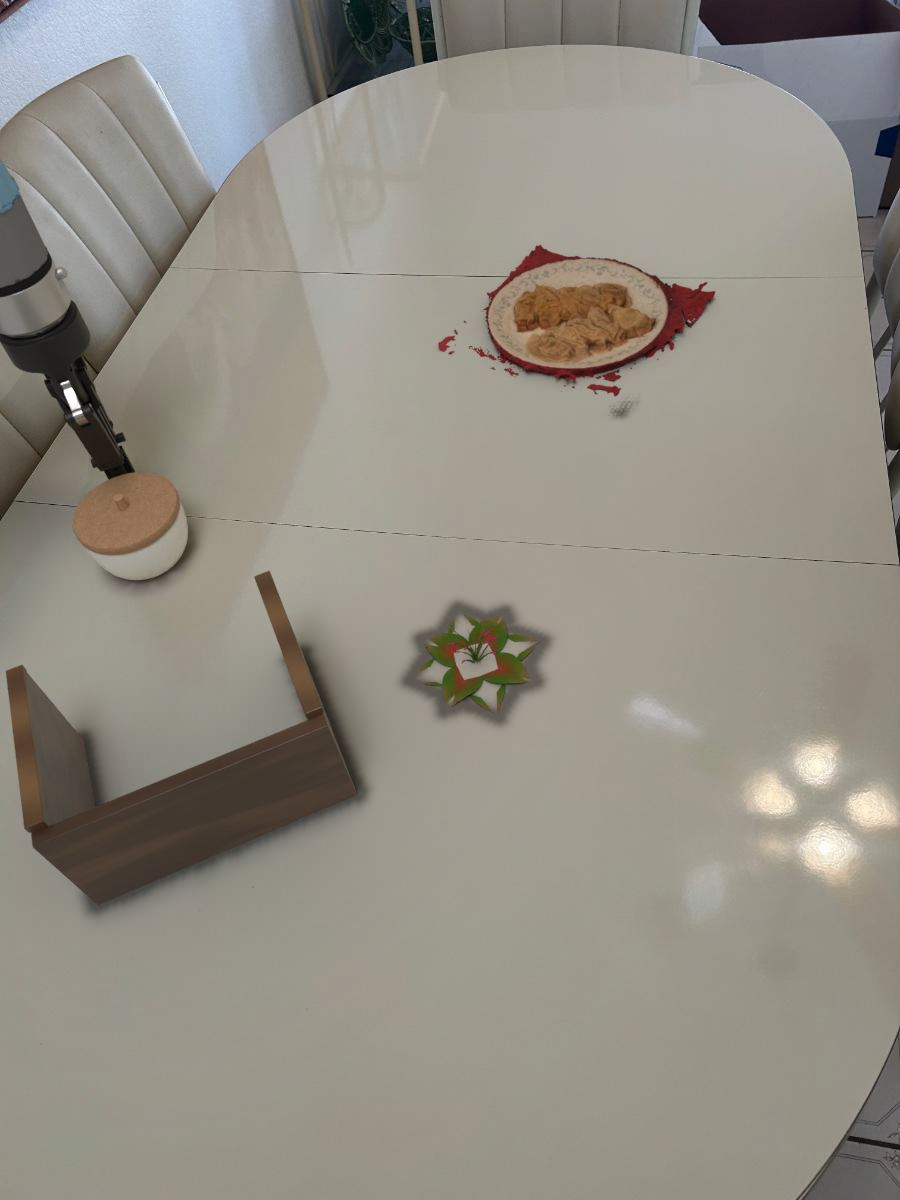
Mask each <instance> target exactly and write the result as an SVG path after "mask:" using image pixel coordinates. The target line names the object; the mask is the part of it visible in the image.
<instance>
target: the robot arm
mask: <svg viewBox="0 0 900 1200" xmlns="http://www.w3.org/2000/svg"><path fill="white" fill-rule="evenodd" d="M19 190H20V187H19V185H18V183H17V180H16V179H15V178H14V177H13V175H12V174H10V172H9V170H8V169H7V167H6V165H5V163H4V162H3V159H2V158H1V157H0V345H1V346H2V348H3V350H4V352H5V353H6V355H7V356H8V359H9V360H10V361H11V363H12V364H13V366H15V368H17V369H18V370H20V371H22V372H26V373H29V374H40V375H41V374H42V375H44V377H45V379H44V380H43V382H44V386H45V387H46V389H47V391H48V392H49V395H50V396H51V397H52V398H54V399H56V401H57V403H58V405H59V407H60V408H61V410H62V412H63V420H64V422H65V423H67V425H68V426H69V427H70V429H72V430H73V432H74V433H75V435H76V436H77V438H78V439H79V441H80V442H81V444H82V445H83V447H84V448H85V450H86V452H87V453H88V454H89V456H90V463H91V466H92V469H95V468H97V470H99V472H101V473H102V472H104V474H105V476H106V478H107V480H109V479H111V478H114V477H117V476H120V475H124V474H127V473H134V472H136V470H135V468H134V465H133V464H132V462H131V460H130V459H129V456H128V455H127V453H126V451H125V449H124V446H123V445H119V444H121V443H124V442H127V440H126V437H125V434H124V432H123V431H121V432H119V433H115V430H114V429H115V428H114V422H113V420H111V419H110V417H109V415H108V413H107V410H106V409H105V406H104V404H103V403H102V400H101V398H100V397H99V394H98V392H97V390H96V386H95V382H94V380H93V378H92V376H91V374H90V373H89V371H88V366H87V363H86V360H85V358H84V356H83V355H84V353H85V352H86V351H87V350H88V348H89V345H90V342H91V332H90V329H89V328H88V325H87V323H86V322H85V320H84V318H83V315H82V313H81V312H80V310H79V308H78V305H77V304H76V303H75V301H73V300H72V297H71V293H70V291H69V289H68V287H67V285H66V283H65V281H64V279H66V278H67V277H68V275H69V273H68V271H67V269H66V268H65V267H64V266H59V267H56V264H55V261H54V260H53V258H52V256H51V254H50V251H49V250H48V247H47V246H46V244H45V243H44V240H43V238H42V236H41V235H40V232H39V230H38V229H37V226H36V224H35V222H34V220H33V218H32V216H31V214H30V212H29V210H28V207H27V205H26V203H25V202H24V199H23V197H22V195H21V192H20V191H19Z"/></svg>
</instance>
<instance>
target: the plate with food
mask: <svg viewBox="0 0 900 1200" xmlns="http://www.w3.org/2000/svg"><path fill="white" fill-rule="evenodd" d="M534 247H535V248H534V250H533V249H531V251H530V252H529V254H528V255H525V257H524V258H523V260H522V262H521V263H520V264H519V265H517V266H516V267H515V270H510V272H509V276H508V277H507V278H506V279H505V280H504V281H503V282H502V283H501V284H500V285H499V286H498V287H497V288H495V289H494V290H493V291H490V292H486V296H488V299H490V301H489V303H488V306H486V307H484V308H483V309H482V310H481V312H482V313H483V311H485V314H486V316H485V317H484V318H485V320H484V321H485V322H486V324H487V330H488V331H487V333H488V335H489V337H490V340H491V342H492V343H493V345H494V346H495V348H496V349H497V350H498V351H499V352H500V354H499V355H498V356H497V358H496V357H495V356H494V355H492V353H491V354H490V350H489V348H486V349H483V348H482V347H479V348H478V347H475V346H473V345H469V346H468V349H469V350H471V349H472V350H473V351H474V352H476V354H477V355H478V356H480V357H481V358H482V357H483V358H488V359H490V360H492V361H496V360H498V362H500V363H501V364H506V363H507V361H508V362H510V363H509V366H510V367H508V368H507V367H504V369H503V370H504V371H505V372H507V373H508V374H510V376H513V377H514V378H516V377H517V376H519V372H515V371H513V369H515V365H517V366H518V367H520V368H519V369H521V368H523V370H522V372H524V371H525V370H526V371H525V373H528V371H531V372H533V373H541V374H544V375H549V376H554V378H555V379H558V378H559V377H564V381H566V382H568V381H570V380H571V379H572V381H573V382H575V381H576V380H577V379H579V378H581V377H582V378H583V379H585V377H590V378H595V379H601V378H603V379H604V380H607V381H610V382H614V381H617V380H620V378H621V377H622V375H620V374H618V373H620V372H621V370H620V368H623V367H624V366H625V365H626V364H628V363H632V362H633V361H636V360H638V359H640V358H641V357H644V356H646V357H645V359H649V358H653V357H654V356H655V354H656V352H657V351H658V350H660V351H661V352H662V353H665V349H666V346H665V345H667V344H668V343H669V350H671V351H673V349H674V347H675V342H673V341H672V340H671V337H672V336H674V335H675V334H676V332H682V331H683V330H684V328H685V324H684V322H685V323H686V324H687V325H688V326H689V327H693V325H694V324H695V322H696V321H697V320H698V319H699V317H700V316H701V315H702V314H703V312H704V310H705V308H706V305H707V303H708V302H711V301H713V299H714V297H715V295H716V291H715V290H713V291H712V290H710V291H705V290H702V289H703V288H704V287H705V286H707V284H708V282H707V281H705V282H703V283H700V284H698V288H695V289H693V288H691V287H686V286H683V285H679V284H677V283H672V284H671V285H670V284H668V282H665V283H664V281H662V280H661V279H660V278H659V277H658V276H657V274H654V275H653V274H649V273H648V272H645V271H643V270H642V269H640V268H639V267H637V266H635V265H632V264H630V263H627V262H625V261H619V260H617V259H615V258H613V259H612V258H609V257H608V258H607V257H604V258H603V257H601V258H600V257H593V256H592V257H590V256H589V257H581V256H579V255H574V256H571V255H570V256H567V255H563V254H560V253H556V252H552V251H549V250H548V249H547V248H544V247H543V245H541V244H539V245H537V244H536V245H535V246H534ZM463 323H465V324H467V321H466V320H463ZM457 325H459V324H457ZM453 331H454V334H455V335H448V336H445V337H444V338H443V340H441V341H438V344H437V347H438V349H440V350H441V351H442V352H443V353H445V352H446V351H447V350H448V349H450V348H451V346H450V345H449V344H448V343H450V342H451V341H453V342H455V341H456V340H457V339H456V338H455V337H456V336H457V335H458V334H459V332H458V331H457V329H453ZM447 344H448V345H447ZM453 346H454V347H456V346H457V345H456V344H454V345H453ZM473 347H474V348H473ZM486 351H487V352H486ZM485 352H486V353H485ZM661 352H660V353H661ZM452 353H453V354H455V353H456V351H454V350H451V351H449V352H448V354H450V355H452ZM659 360H660V358H656V361H659ZM511 365H514V366H511ZM633 365H636V362H634V363H633ZM491 369H493V370H495V371H496V369H495V367H494V366H491ZM629 369H630V370H633V367H629ZM599 374H601V375H599ZM595 375H598V376H595ZM621 386H622V387H623V385H621ZM621 386H620V387H618V385H613V386H612V385H611V386H610V385H609V386H607V385H603V384H597V383H596V384H595V383H590V384H589V385H588V386H587V387H586V389H588V390H591V391H592V392H594V395H598V392H596V391H597V390H599V389H600V390H603V391H604V390H605V391H606V392H607V393H606V394H607V395H608V394H611V393H612V394H613V397H618V395H620V391H621V390H622V387H621ZM563 387H567V386H566V384H564V385H563ZM571 388H572V389H575V388H576V386H575V385H572V386H571ZM560 392H563V391H562V390H560Z"/></svg>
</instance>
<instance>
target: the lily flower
mask: <svg viewBox="0 0 900 1200" xmlns="http://www.w3.org/2000/svg"><path fill="white" fill-rule="evenodd" d="M463 616H464V617H465V618H464V620H465V623H466V624H468V623H467V621H468V622H469V623H470V625H471V626H473V628H472V629H471V631H469V629H468V628H467V633H468V635H469V636H468V639H467V638H466V637H465V636H463V635H461V634H459V633H458V632H457V631H456V625H455V624H456V623H455V622H456V621H455V620H456V619H455V618H456V617H455V615H454V617H453V619H452V621H450V624H449V626H448V630H447V632H445V633H441V634H438V635H434V636H433V637H431V638H430V639H429V641H430V642H431V643H433V644H434V645H432V644H431V645H430V644H424V646H425V647H426V648H427V651H428V652H429V654H430V655H431V656H432V657H433V658H431V659H429V660H428V661H426V662H425V663H424V664H423V665H422V667H421V668H420V669H419V670H418V672H417V674H419V673H421V672H423V671H425V670H427V669H428V668H431V667H432V665H433V663H434V662H435V660H436V661H437V662H438V663H440V664H442V665H443V666H446V667H448V668H449V667H450V668H449V669H448V670H447V671H445V673H444V675H443V677H442V680H441V681H442V682H441V683H440V682H438V681H426V682H423V684H425V685H428V686H434V687H435V686H436V687H442V688H441V689H442V695H443V701H444V702H445V703H446V704H447V703H448V702H450V701H451V700H452V703H451V705H450V708H452V707H453V706H455V705H456V704H457V703H458V702H461V701H462V700H464V699H465V698H467V697H468V696H469V697H470V699H471V700H472V701H473V702H475V703H476V704H478V705H479V706H480V707H483V708H484V709H486V710H487V711H491V712H492V714H495V713H494V712H493V710H492V709H491V707H489V705H488V704H487V703H486V702H485V700H484V699H483V698H482V697H481V696H477V695H474V694H473V693H475V692H476V691H477V690H478V689H479V688H480V687H481V686H482V684H483V682H484V680H485V682H489V683H493V684H500V686H499V688H498V689H497V691H496V716H498V715H499V710H500V708H501V703H502V702H503V700H504V696H505V693H506V685H507V684H523V683H530V682H528V681H527V680H531V676H530V675H529V673H528V672H527V671H526V667H525V666H524V664H523V662H522V661H523V660H524V659H525V658H526V657H527V656H528V655H529V654H530V653H531V652H532V651H533V650H534V648H535V646H536V645H538V644H539V643H540V642H542V640H541V639H535V638H532V637H528V638H527V636H524V635H521V634H508V629H507V623H506V621H505V620H504V618H505V617H504V616H503V617H502V619H500V618H501V616H499V615H498V616H494V617H492V618H486V619H485V618H484V617H483V618H482V620H481V621H480V622H479V621H478V620H476V619H475V618H473V616H472V617H471V616H469V615H467V614H463ZM499 620H500V621H499ZM507 639H508V640H509V641H511V642H514V643H523V642H524V643H525V642H535V643H534V644H532V645H530V646H529V647H527V648H526V649H524V650H523V651H521V652H519V653H517V656H516V655H514V654H512V653H510V652H505V651H504V652H503V651H501V650H502V649H503V648H504V646H505V644H506V642H507ZM486 644H487V645H486ZM483 645H486V646H485V647H484V649H483V650H482V648H483ZM488 647H489V648H490V652H487V653H485V652H486V650H487V648H488ZM460 650H463V651H460ZM466 650H467V651H468V652H466ZM481 650H482V652H481ZM480 652H481V653H480ZM458 653H463V654H465V655H467V656H469V657H470V658H471V659H463V660H462V661H461V662H460V664H464V663H465V662H470V663H472V664H475V663H476V664H480V665H481V664H482V663H481V661H482V660H484V658H485V657H487V656H488V655H490V654H492V655H493V656H494V658H495V663H496V667H497V669H494V670H491V671H488V672H487V673H484V674H481V675H479V676H474V677H470V678H466V679H464V677H463V674H462V673H461V671H460V669H459V667H458V666H457V663H456V658H455V654H458ZM452 698H453V699H452Z"/></svg>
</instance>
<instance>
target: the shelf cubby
mask: <svg viewBox="0 0 900 1200" xmlns="http://www.w3.org/2000/svg"><path fill="white" fill-rule="evenodd" d="M254 580H255V584H256V587H257V588H258V592H259V594H260V597H261V600H262V602H263V605H264V608H265V610H266V613H267V616H268V619H269V621H270V624H271V627H272V629H273V632H274V635H275V638H276V641H277V643H278V646H279V649H280V651H281V654H282V656H283V660H284V663H285V665H286V667H287V670H288V673H289V676H290V678H291V682H292V684H293V686H294V689H295V693H296V695H297V698H298V700H299V703H300V706H301V708H302V710H303V713H304V716H305V718H306V719H307V720H305V721H302V722H300V723H297V724H294V725H292V726H290V727H288V728H284V729H283V730H280V731H278V732H275V733H273V734H270V735H267V736H266V737H263V738H261V739H260V738H259V739H258V740H255V741H253V742H251V743H248V744H245V745H244V746H243V745H242V746H241V747H239V748H236V749H234V750H231V751H229V752H226V753H224V754H222V755H219V756H216V757H214V758H212V759H208V760H207V761H204V762H202V763H200V764H197V765H195V766H191V767H190V768H188V769H185V770H183V771H179V772H177V773H175V774H172V775H170V776H168V777H165V778H163V779H160V780H158V781H155V782H153V783H151V784H148V785H146V786H143V787H141V788H138V789H136V790H133V791H131V792H128V793H126V794H124V795H121V796H119V797H117V798H114V799H111V800H108V801H107V802H104V803H102V804H98V805H96V801H95V795H94V789H93V784H92V778H91V773H90V766H89V760H88V756H87V750H86V744H85V739H84V738H83V737H82V736H81V735H80V733H79V732H78V731H77V730H76V729H75V727H74V726H73V725H72V724H71V722H70V721H69V720H68V719H67V718H66V717H65V716H64V714H63V713H62V712H61V711H60V710H59V708H58V707H57V706H56V705H55V704H54V703H53V701H52V700H51V699H50V698H49V696H48V695H47V694H46V693H45V692H44V690H42V689H41V687H40V686H39V685H38V683H37V682H36V681H35V680H34V679H33V677H31V675H30V674H29V673H28V670H27V668H26V667H25V666H24V664H20V665H18V666H15V667H12V668H9V669H7V670H5V678H6V684H7V695H8V703H9V712H10V719H11V720H10V721H11V727H12V736H13V745H14V753H15V761H16V762H15V763H16V769H17V778H18V786H19V788H18V789H19V796H20V803H21V804H20V805H21V813H22V821H23V828H24V830H25V831H26V832H27V833H28V834H30V836H31V837H30V838H31V844H32V845H31V847H32V848H33V849H34V850H35V851H36V852H38V854H40V855H41V856H42V857H43V858H44V859H45V860H47V862H48V863H49V864H51V865H52V866H53V867H54V868H55V869H56V870H57V871H59V872H60V873H61V874H62V875H63V876H64V877H65V878H67V879H68V880H69V881H70V882H71V883H72V884H73V885H74V886H75V887H77V888H78V889H79V890H80V891H81V892H82V893H83V894H84V895H86V896H87V898H89V899H90V900H91V901H92V902H93V903H95V905H97V906H100V905H102V904H105V903H107V902H109V901H111V900H115V899H116V898H118V897H121V896H123V895H125V894H129V893H130V892H133V891H135V890H137V889H139V888H142V887H144V886H146V885H149V884H152V883H154V882H156V881H158V880H162V879H163V878H166V877H168V876H170V875H172V874H174V873H177V872H180V871H182V870H184V869H186V868H189V867H191V866H193V865H196V864H198V863H201V862H203V861H205V860H207V859H211V858H213V857H215V856H217V855H219V854H222V853H224V852H226V851H229V850H232V849H234V848H236V847H238V846H240V845H243V844H245V843H248V842H250V841H252V840H255V839H257V838H259V837H262V836H265V835H267V834H269V833H271V832H274V831H276V830H278V829H281V828H282V827H285V826H287V825H291V824H292V823H294V822H297V821H299V820H301V819H304V818H306V817H308V816H311V815H313V814H315V813H319V812H321V811H323V810H326V809H328V808H330V807H333V806H334V805H336V804H340V803H342V802H344V801H347V800H349V799H351V798H353V797H356V796H357V795H358V793H357V790H356V788H355V784H354V782H353V779H352V777H351V774H350V771H349V770H348V766H347V764H346V761H345V759H344V756H343V754H342V751H341V748H340V746H339V743H338V740H337V738H336V735H335V733H334V731H333V728H332V724H331V722H330V719H329V717H328V715H327V712H326V709H325V707H324V704H323V702H322V699H321V697H320V694H319V691H318V689H317V686H316V684H315V681H314V678H313V676H312V673H311V671H310V668H309V665H308V663H307V661H306V658H305V655H304V653H303V651H302V648H301V646H300V643H299V641H298V638H297V635H296V634H295V632H294V631H295V630H294V628H293V626H292V623H291V621H290V619H289V617H288V614H287V611H286V610H285V606H284V603H283V602H282V601H283V600H282V599H281V596H280V593H279V591H278V588H277V586H276V583H275V580H274V577H273V576H272V572H271V571H270V570H267V571H264V572H262V573H259V574H256V575H254Z"/></svg>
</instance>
